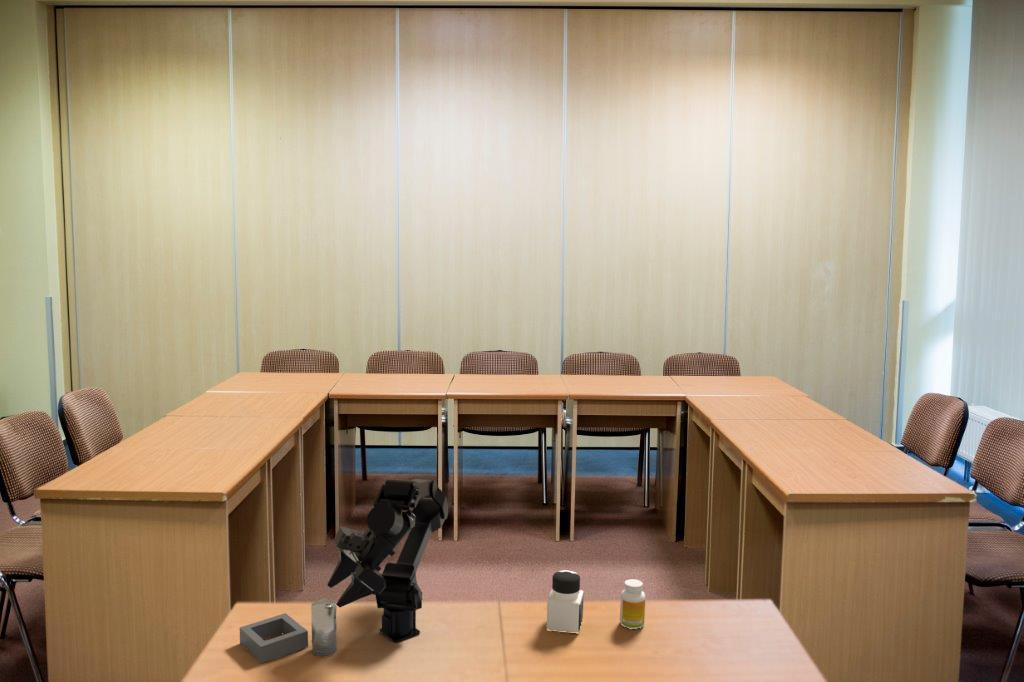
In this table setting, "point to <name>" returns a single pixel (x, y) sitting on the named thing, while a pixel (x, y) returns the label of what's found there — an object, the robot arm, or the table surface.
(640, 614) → the supplement bottle
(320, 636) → the steel shaft
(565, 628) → the medicine bottle
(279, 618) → the grey square frame
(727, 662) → the table surface
